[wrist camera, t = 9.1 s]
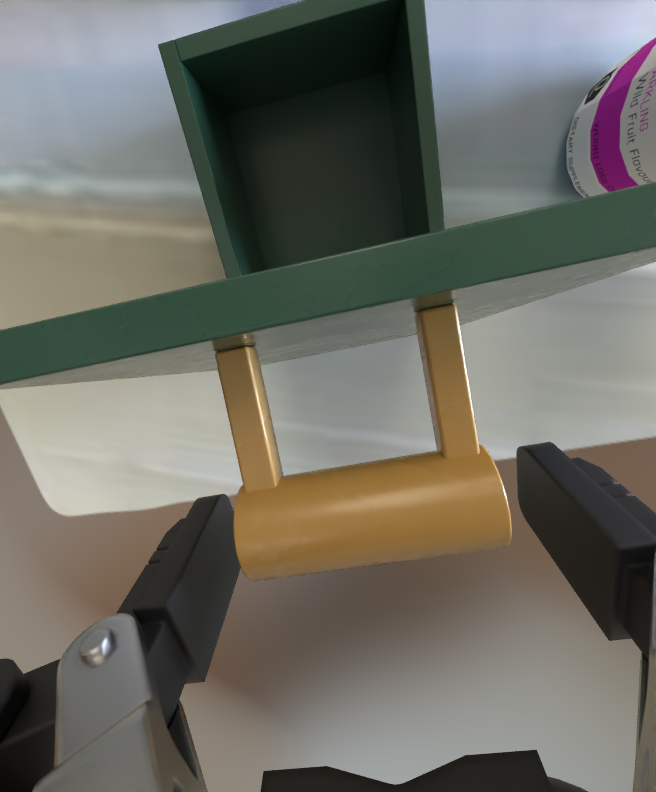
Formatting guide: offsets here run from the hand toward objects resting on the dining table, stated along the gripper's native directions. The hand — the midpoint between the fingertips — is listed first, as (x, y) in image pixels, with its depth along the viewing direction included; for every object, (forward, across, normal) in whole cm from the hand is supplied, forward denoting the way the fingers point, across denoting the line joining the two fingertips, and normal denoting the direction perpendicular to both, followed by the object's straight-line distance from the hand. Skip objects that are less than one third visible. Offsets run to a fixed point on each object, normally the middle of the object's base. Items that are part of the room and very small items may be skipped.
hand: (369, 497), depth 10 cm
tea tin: (+20, 0, -9) cm, 22 cm away
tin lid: (+4, 0, -4) cm, 6 cm away
